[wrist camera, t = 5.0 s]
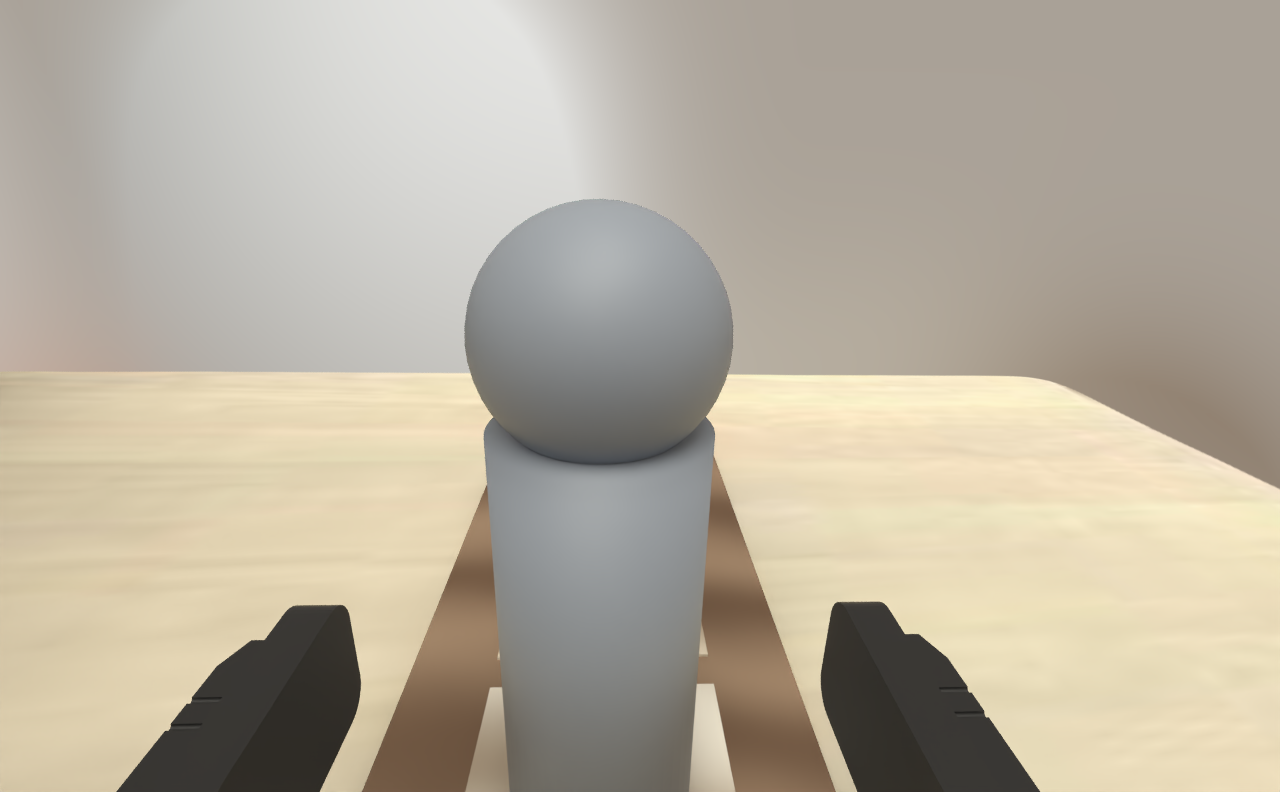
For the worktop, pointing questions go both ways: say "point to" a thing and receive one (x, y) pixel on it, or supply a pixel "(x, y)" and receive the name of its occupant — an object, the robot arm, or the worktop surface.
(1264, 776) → the worktop surface
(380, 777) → the game track
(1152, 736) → the worktop surface
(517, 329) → the pawn
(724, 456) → the worktop surface
